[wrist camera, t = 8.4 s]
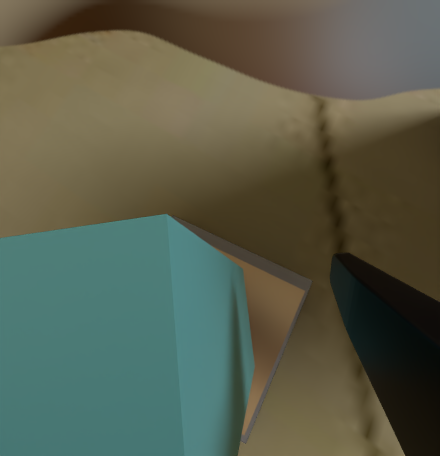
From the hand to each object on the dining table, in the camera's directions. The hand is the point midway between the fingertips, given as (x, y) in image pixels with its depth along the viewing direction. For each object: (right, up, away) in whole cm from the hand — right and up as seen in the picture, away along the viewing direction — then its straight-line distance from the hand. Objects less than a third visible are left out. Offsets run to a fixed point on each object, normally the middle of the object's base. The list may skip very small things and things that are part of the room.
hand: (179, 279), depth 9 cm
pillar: (0, -4, +8) cm, 8 cm away
